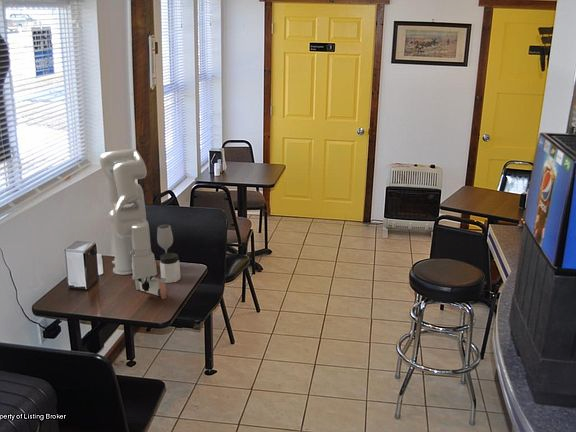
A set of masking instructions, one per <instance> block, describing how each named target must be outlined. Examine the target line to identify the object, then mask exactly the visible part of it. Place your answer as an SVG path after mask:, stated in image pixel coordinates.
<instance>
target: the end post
mask: <svg viewBox="0 0 576 432" xmlns="http://www.w3.org/2000/svg"><path fill="white" fill-rule="evenodd" d="M157 279H158V281H159V282H160V293H161V296H160V300H166V299H167V298H168V297H167V289H166V288H167V287H166V283H165V282H166V279H165V278H161V277H159V278H157ZM165 298H166V299H165Z"/></svg>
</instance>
